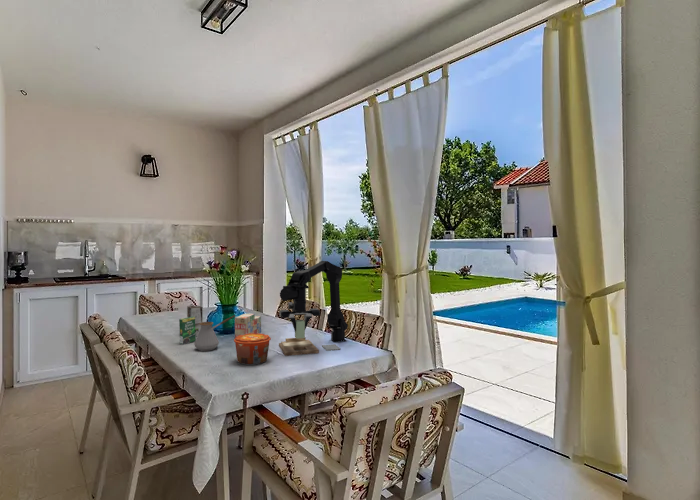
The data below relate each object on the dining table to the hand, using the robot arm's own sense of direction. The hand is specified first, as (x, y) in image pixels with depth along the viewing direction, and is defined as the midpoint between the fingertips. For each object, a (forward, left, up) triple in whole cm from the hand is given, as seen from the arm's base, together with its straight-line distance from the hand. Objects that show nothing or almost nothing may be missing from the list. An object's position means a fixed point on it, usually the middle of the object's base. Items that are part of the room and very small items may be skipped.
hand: (299, 330), depth 205 cm
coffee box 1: (+49, -52, -10) cm, 72 cm away
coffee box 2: (+52, -35, -10) cm, 63 cm away
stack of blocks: (+20, -42, -10) cm, 48 cm away
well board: (0, -5, -10) cm, 11 cm away
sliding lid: (0, -9, -8) cm, 12 cm away
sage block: (0, 0, -3) cm, 3 cm away
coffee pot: (+38, -21, -10) cm, 45 cm away
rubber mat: (-16, -2, -10) cm, 19 cm away
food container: (+23, +8, -10) cm, 26 cm away
